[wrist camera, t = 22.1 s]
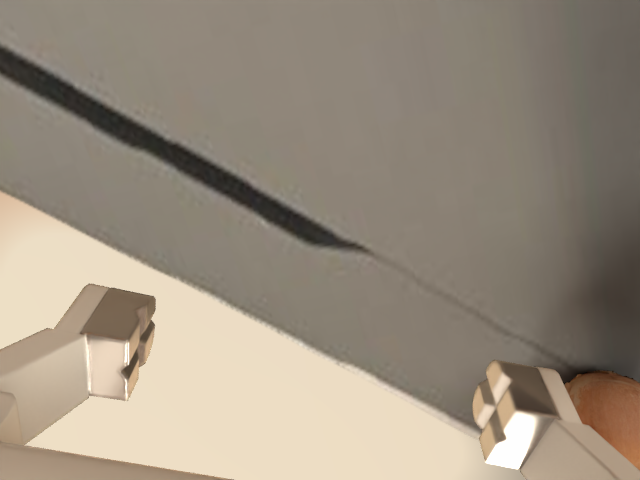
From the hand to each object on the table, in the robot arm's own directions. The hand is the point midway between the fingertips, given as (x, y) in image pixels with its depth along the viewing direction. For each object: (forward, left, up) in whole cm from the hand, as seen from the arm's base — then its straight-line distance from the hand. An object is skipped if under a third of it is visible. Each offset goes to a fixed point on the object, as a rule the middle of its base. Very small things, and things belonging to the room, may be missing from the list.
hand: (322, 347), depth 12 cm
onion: (+30, -24, -27) cm, 47 cm away
